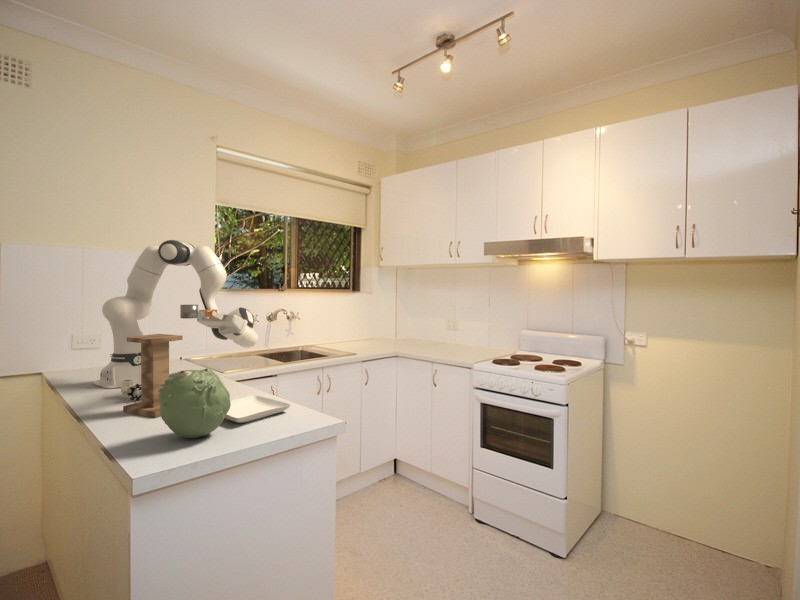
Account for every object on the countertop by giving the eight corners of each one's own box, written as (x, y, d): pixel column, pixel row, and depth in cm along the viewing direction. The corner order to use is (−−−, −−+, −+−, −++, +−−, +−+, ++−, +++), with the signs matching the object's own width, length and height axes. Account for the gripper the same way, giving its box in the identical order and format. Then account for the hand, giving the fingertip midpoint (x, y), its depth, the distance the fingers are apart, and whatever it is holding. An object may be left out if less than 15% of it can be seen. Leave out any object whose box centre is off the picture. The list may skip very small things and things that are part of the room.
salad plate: (255, 402, 155) (255, 393, 155) (292, 413, 143) (292, 403, 143) (201, 416, 138) (201, 406, 138) (237, 429, 126) (237, 418, 126)
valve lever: (176, 318, 154) (176, 304, 154) (208, 315, 168) (208, 303, 168) (188, 318, 152) (188, 305, 151) (219, 316, 165) (219, 304, 165)
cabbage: (238, 436, 119) (238, 368, 118) (165, 453, 106) (165, 377, 106) (220, 422, 131) (220, 360, 130) (153, 436, 118) (152, 367, 118)
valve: (115, 398, 159) (128, 403, 152) (115, 381, 159) (128, 385, 152) (134, 394, 164) (147, 399, 157) (134, 378, 164) (147, 382, 157)
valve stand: (123, 411, 141) (122, 336, 140) (155, 403, 152) (155, 333, 151) (155, 417, 135) (155, 339, 134) (186, 408, 146) (186, 335, 145)
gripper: (214, 319, 180) (191, 304, 168) (250, 321, 172) (229, 305, 161) (208, 332, 177) (184, 318, 166) (245, 334, 169) (223, 320, 158)
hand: (206, 312), depth 163 cm, fingers closed on valve lever, 3 cm apart
